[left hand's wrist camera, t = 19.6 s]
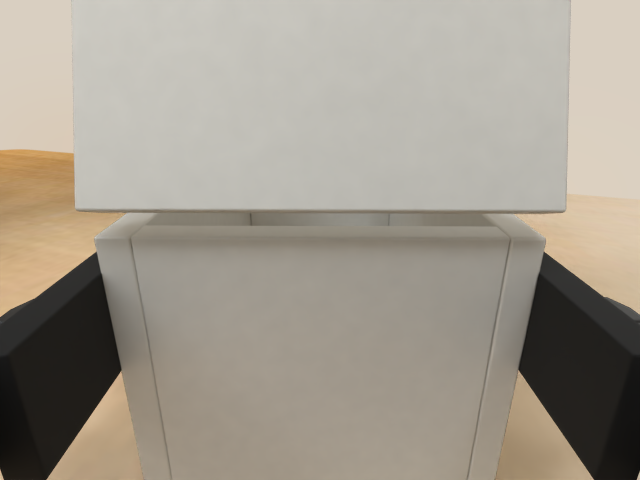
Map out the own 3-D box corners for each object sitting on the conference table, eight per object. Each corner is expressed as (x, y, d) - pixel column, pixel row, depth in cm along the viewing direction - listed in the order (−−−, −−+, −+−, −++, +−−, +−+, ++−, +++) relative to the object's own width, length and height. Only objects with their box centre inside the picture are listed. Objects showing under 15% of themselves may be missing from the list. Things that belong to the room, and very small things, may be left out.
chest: (243, 269, 28) (233, 134, 25) (396, 270, 28) (406, 134, 25) (149, 512, 13) (93, 237, 9) (489, 512, 13) (548, 238, 9)
